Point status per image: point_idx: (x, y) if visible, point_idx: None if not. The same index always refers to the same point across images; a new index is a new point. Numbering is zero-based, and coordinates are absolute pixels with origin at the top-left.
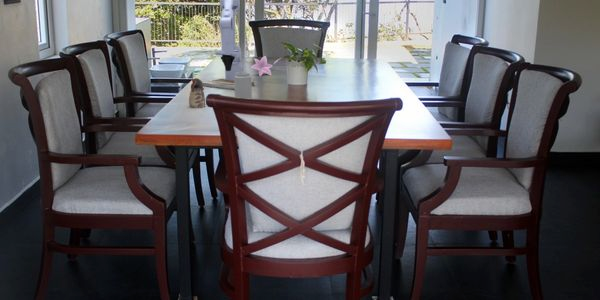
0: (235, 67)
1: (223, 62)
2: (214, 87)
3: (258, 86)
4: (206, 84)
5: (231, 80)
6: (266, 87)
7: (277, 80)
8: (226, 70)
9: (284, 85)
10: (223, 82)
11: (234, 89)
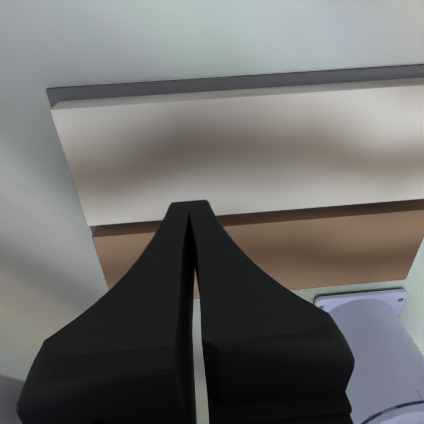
0: (352, 398)
1: (248, 265)
2: (306, 72)
3: (78, 286)
4: (418, 81)
5: (295, 274)
6: (7, 289)
7: None
8: (195, 203)
9: (5, 364)
10: (295, 192)
11: (60, 88)
